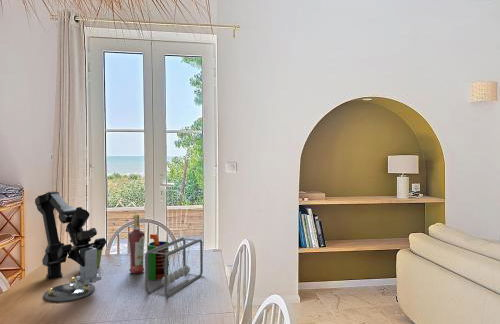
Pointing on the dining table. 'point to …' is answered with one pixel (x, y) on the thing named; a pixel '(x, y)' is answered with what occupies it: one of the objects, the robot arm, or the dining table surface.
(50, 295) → the disc
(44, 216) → the robot arm
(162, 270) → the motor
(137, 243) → the liquor
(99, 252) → the plant pot
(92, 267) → the square pipe section
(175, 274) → the newton's cradle
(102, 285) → the dining table surface
